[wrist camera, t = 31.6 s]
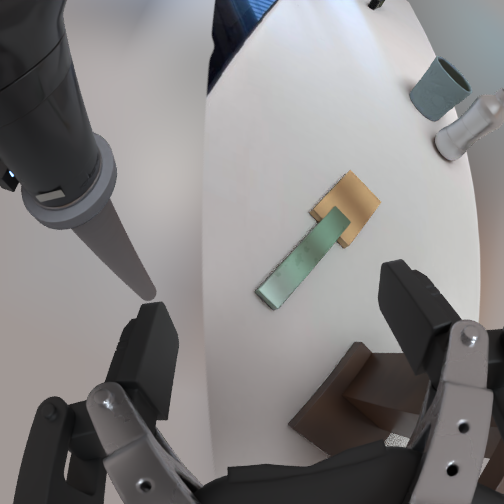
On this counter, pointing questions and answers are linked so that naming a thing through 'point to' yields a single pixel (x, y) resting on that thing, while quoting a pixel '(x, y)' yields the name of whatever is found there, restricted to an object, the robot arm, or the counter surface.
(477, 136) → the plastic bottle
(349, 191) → the spatula
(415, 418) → the brown pedestal stand
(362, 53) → the counter surface
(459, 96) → the blue-grey embossed cup
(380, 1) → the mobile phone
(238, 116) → the counter surface
